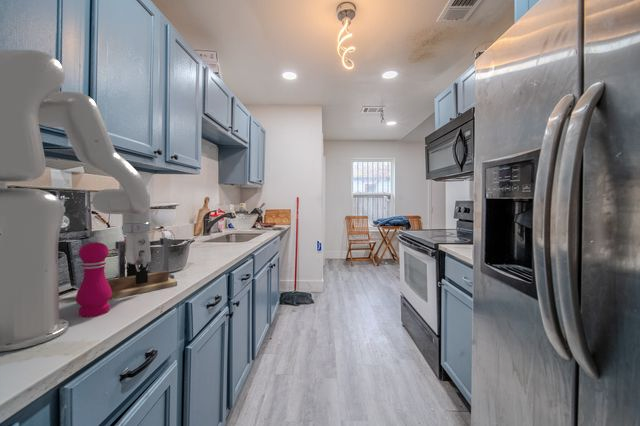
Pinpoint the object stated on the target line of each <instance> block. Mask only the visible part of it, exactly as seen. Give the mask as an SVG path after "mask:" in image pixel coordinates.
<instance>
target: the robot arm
mask: <svg viewBox="0 0 640 426" xmlns="http://www.w3.org/2000/svg"><path fill="white" fill-rule="evenodd" d="M64 83H65V69H64V67H63V66H62V63H60V62H59V60H58V59H57V58H55V57H54V55H50V54H49V53H46V52H43V51H40V50H36V49H35V50H33V49H7V50H0V352H9V351H14V350H20V349H25V348H29V347H33V346H35V345H39V344H42V343H45V342H47V341H51V340H52V339H55V338H57V337H59V336H61V335H63V334H64V333H65V332H66V331H67V330H68V329H69V327H70V325H69V324H70V323H69V321H68V320H66V319H62V318H60V296H59V295H60V291H59V289H60V288H59V282H60V281H59V280H60V279H59V238H60V233H61V228H62V226H63V225H62V224H63V220H64V215H65V214H64V213H65V212H64V211H65V209H64V206H63V204H62V201H61V200H60V199H59V198H58V197H57V196H56V195H54V194H52V193H50V192H49V191H45V190H41V189H38V188H28V187H25V188H24V187H23V188H22V187H21V188H19V187H18V188H17V187H8V182H9V183H10V182H11V183H14V182H15V183H16V182H17V183H19V182H29V181H34V180H38V179H39V178H41V177H42V176H43V175H44V174H45V171H46V167H47V166H46V165H47V163H46V156H45V151H44V147H43V146H44V145H43V140H42V135H41V129H40V125H41V126H43V127H48V128H62V129H63V131H64V133H65V135H66V136H67V137H66V138H68V139H67V140H68V141H69V144H70V145H71V147H72V149H73V153H75V156H76V158H77V159H78V160H79V161H80V162H82V163H84V164H85V165H88V166H90V167H91V168H92V167H93V168H95V169H97V170H99V171H102V172H104V173H106V174H107V175H109V176H111V177H112V178H113V179H114V180H116V181H117V182H118V184H120V186H121V187H122V188H103V189H101V190H99V191H97V192H96V193H94V194H93V196H92V199H91V204H92V206H93V208H94V209H95V210H96V211H97V212H100V213H102V214H106V215H122V217H121V219H122V221H121V223H122V235H125V242H126V243H125V242H124V243H125V262H126V277H129V276H135V275H136V284H143V283H147V282H148V273H149V267H148V266H149V264H150V263H151V261H152V256H151V241H150V235H149V233H151V195H150V193H149V192H148V189H147V188H146V184H145V182H144V180H143V178H142V176H141V174H140V173H139V172H138V171H137V170H136V168H134V166H132V164H130V163H129V162H128V161H127V160H126V159H125V158H123V157H122V156H121V155H119V154H118V153H117V151H116V149H115V147H114V145H113V142H112V139H111V137H110V133H109V131H108V130H107V129H108V128H107V127H106V125H105V122H104V119H103V117H102V113H101V112H100V110H99V106H98V104H97V103H96V102H95V100H94V99H93V98H92V97H90V96H89V95H87V94H85V93H81V92H78V91H59V90H60V89H61V88H62V87H63V86H64Z"/></svg>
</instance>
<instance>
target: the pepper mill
mask: <svg viewBox="0 0 640 426" xmlns="http://www.w3.org/2000/svg"><path fill="white" fill-rule="evenodd" d="M88 240H89V243H85V244H84V245H82V246H81V247H80V249H78V250H79V251H78V257H79V259H80V260H82V262H81V269H83V278H82V281H81V284H80V286H79V288H78V290H77V292H76V295H75V302H76V303H77V304H78V305H79V306H80V307H79V308H78V316H79V317H80V318H93V317H98V316H101V315H104V314H106V313H108V312H110V310H111V307H110V306H111V303H110V302H108V301H109V299H110V298H111V297H112V290H111V287H110V285H109V284H108V282H107V280H108V279H107V278H106V274H105V267H106V266H107V260H106V258H107V257H108V256H109V253H110V252H109V251H110V249H109V248H108V246H107V245H106V244H104V243H102V242H99V238H98V237H97V236H91V237H90V238H89V239H88ZM110 300H111V299H110Z"/></svg>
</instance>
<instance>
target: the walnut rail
mask: <svg viewBox="0 0 640 426" xmlns="http://www.w3.org/2000/svg"><path fill="white" fill-rule="evenodd" d="M106 280H107V282H108V284H109V285H110V287H111V290H112V291H117V290H122V289H127V288H133V287H138V286H143V285H148V284H154V283H159V282H164V281H168V271H162V270H160V271H154V272H148V282H147V283H143V284H136V275H135V276H129V277H127V276H125V277H123V278H118V277H117V278H112V279H106Z"/></svg>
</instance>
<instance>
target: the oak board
mask: <svg viewBox="0 0 640 426" xmlns="http://www.w3.org/2000/svg"><path fill="white" fill-rule="evenodd" d="M176 286H178V281H177V280H176V279H174V278H173V279H171V278H169V277H168V281H164V282H159V283H154V284H148V285H143V286H138V287H133V288H127V289H122V290H117V291H112V297H111V298H110V299H109V300H114V299H119V298H122V297H123V298H124V297H128V296H134V295H138V294H143V293H148V292H152V291H158V290H162V289H167V288H172V287H176ZM109 300H108V301H109Z"/></svg>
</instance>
